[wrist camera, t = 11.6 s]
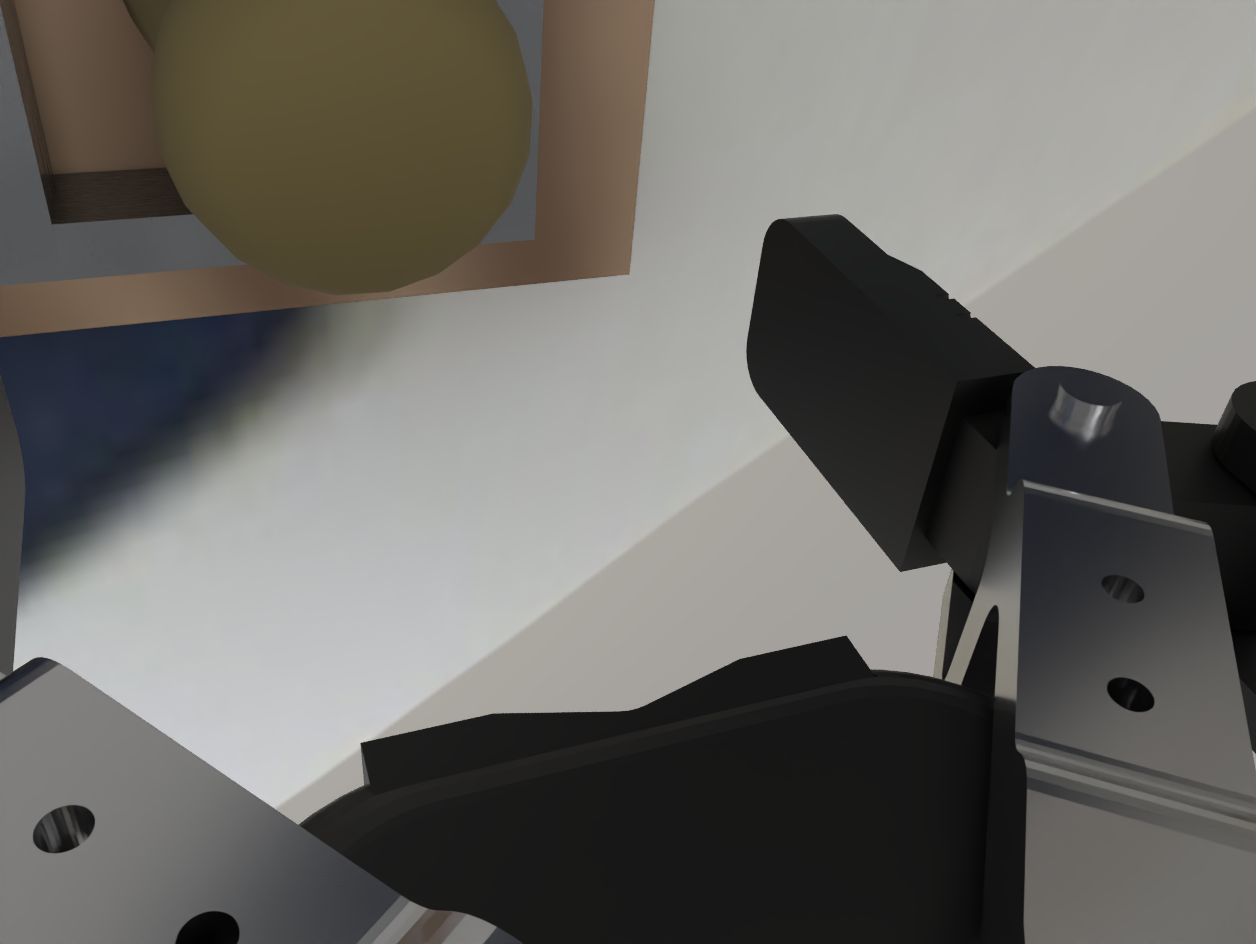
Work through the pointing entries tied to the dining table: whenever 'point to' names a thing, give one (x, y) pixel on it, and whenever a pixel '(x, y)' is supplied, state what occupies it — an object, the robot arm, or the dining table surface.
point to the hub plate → (126, 139)
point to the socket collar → (152, 188)
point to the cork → (340, 130)
